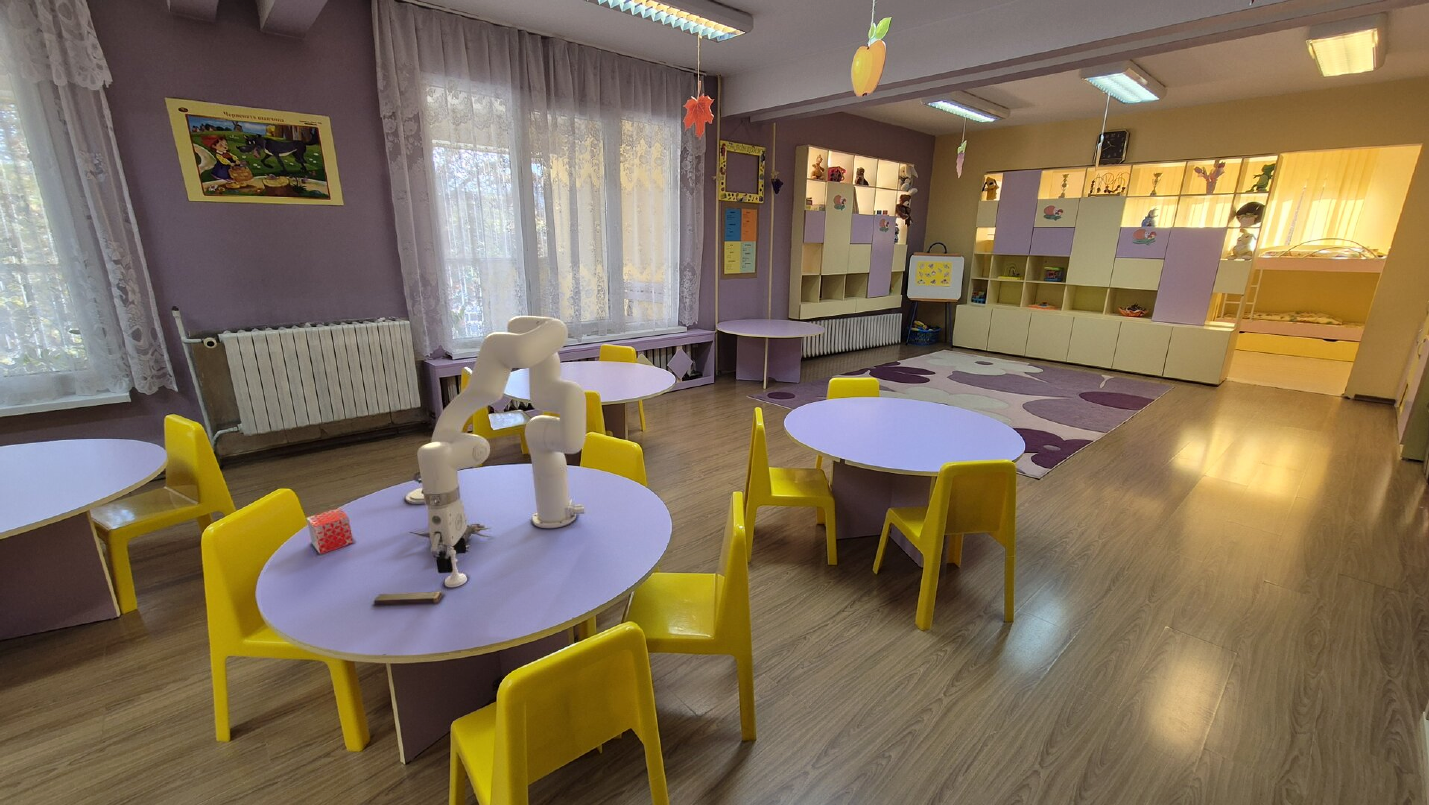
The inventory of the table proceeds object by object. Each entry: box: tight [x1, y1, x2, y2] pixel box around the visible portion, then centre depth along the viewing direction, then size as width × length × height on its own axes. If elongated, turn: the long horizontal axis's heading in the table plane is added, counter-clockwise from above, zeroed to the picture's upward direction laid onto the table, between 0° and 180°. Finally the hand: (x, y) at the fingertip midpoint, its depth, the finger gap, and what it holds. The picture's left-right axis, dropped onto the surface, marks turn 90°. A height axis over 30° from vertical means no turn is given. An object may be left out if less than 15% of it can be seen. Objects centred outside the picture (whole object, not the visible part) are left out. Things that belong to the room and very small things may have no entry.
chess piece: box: [444, 547, 468, 588], centre depth 136 cm, size 5×5×10 cm
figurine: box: [409, 523, 492, 553], centre depth 153 cm, size 20×6×17 cm
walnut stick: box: [373, 590, 443, 606], centre depth 130 cm, size 14×3×1 cm, turn 93°
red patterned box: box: [306, 507, 355, 555], centre depth 155 cm, size 8×8×8 cm
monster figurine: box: [405, 470, 425, 505], centre depth 183 cm, size 12×12×10 cm
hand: (452, 561), depth 136 cm, fingers open, 7 cm apart
